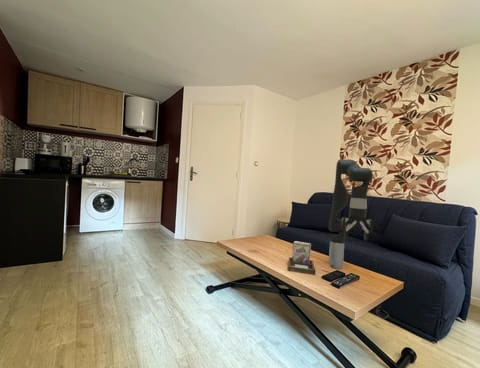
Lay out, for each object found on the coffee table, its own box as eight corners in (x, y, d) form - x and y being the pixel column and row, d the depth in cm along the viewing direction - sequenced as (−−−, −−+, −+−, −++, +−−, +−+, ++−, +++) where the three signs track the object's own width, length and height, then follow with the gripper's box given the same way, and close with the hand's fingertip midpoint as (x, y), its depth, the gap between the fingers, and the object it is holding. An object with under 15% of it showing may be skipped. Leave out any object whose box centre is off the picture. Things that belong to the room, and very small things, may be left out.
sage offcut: (294, 267, 149) (294, 264, 149) (307, 269, 147) (307, 266, 147) (294, 270, 143) (295, 267, 143) (308, 272, 141) (308, 269, 141)
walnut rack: (288, 263, 160) (288, 257, 160) (312, 266, 156) (312, 260, 156) (287, 273, 141) (288, 266, 141) (314, 277, 138) (315, 270, 138)
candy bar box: (291, 266, 154) (293, 242, 154) (292, 264, 158) (294, 240, 158) (308, 270, 149) (310, 245, 149) (309, 267, 154) (311, 243, 154)
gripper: (371, 207, 117) (368, 239, 117) (341, 205, 120) (339, 236, 120) (376, 209, 110) (374, 242, 110) (344, 206, 113) (342, 239, 113)
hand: (355, 239), depth 115 cm, fingers open, 8 cm apart
